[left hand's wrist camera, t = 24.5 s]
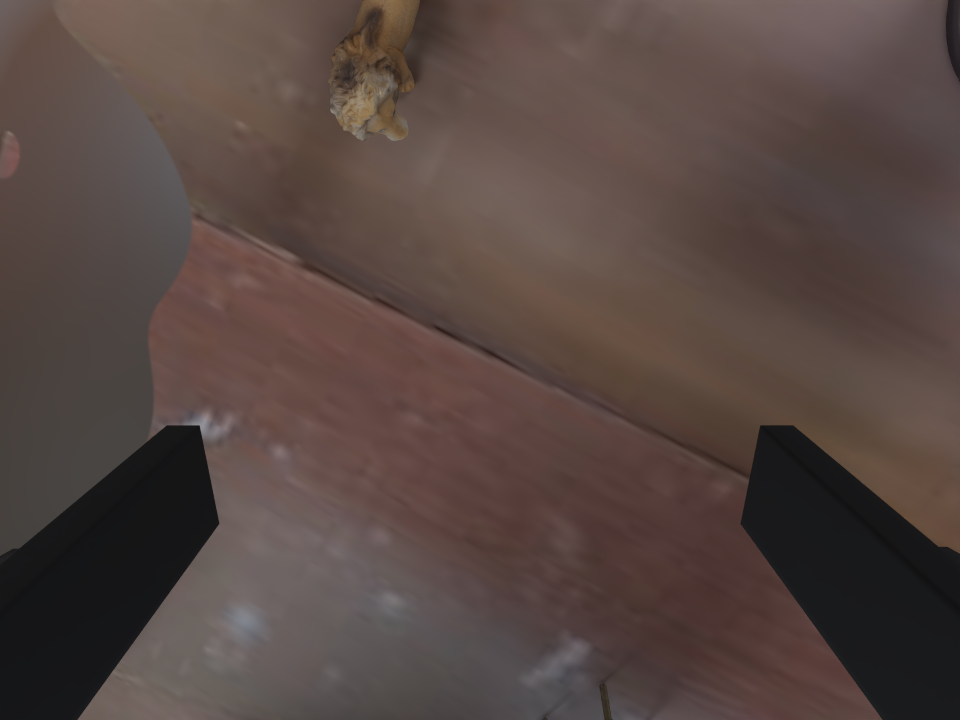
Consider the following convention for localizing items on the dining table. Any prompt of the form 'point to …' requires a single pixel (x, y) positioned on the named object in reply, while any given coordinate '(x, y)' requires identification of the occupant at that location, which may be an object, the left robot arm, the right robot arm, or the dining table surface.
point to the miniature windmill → (603, 702)
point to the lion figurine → (373, 70)
